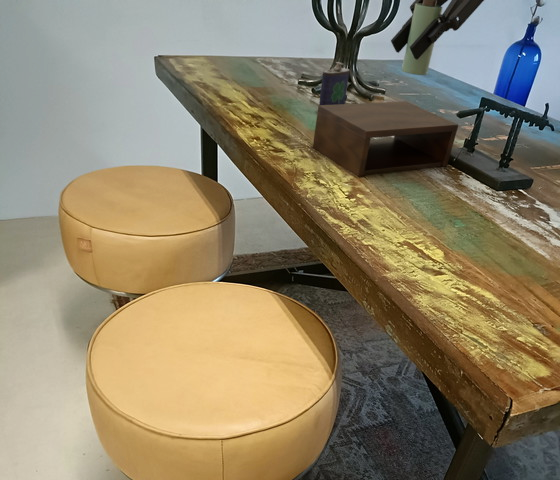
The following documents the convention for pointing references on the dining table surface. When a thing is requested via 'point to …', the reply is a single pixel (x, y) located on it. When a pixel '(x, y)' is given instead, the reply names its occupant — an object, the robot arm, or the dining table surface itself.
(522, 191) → the dining table surface
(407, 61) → the canister
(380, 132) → the shelf
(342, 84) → the flask
